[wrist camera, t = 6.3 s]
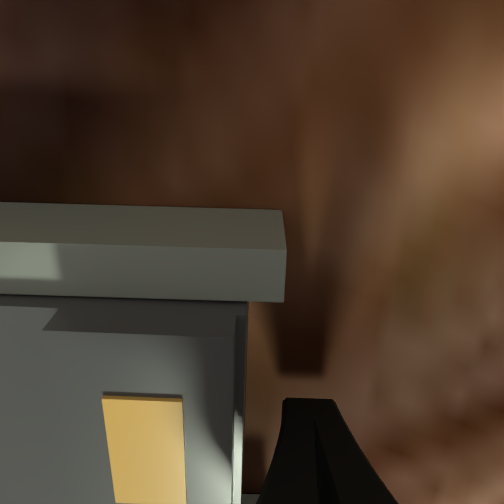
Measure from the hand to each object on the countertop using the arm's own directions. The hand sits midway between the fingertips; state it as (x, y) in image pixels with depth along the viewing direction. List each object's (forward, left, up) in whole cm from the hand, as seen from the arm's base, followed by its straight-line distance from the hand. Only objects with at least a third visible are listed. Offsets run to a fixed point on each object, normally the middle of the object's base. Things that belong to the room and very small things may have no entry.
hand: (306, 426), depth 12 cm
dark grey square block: (+5, -2, -2) cm, 6 cm away
